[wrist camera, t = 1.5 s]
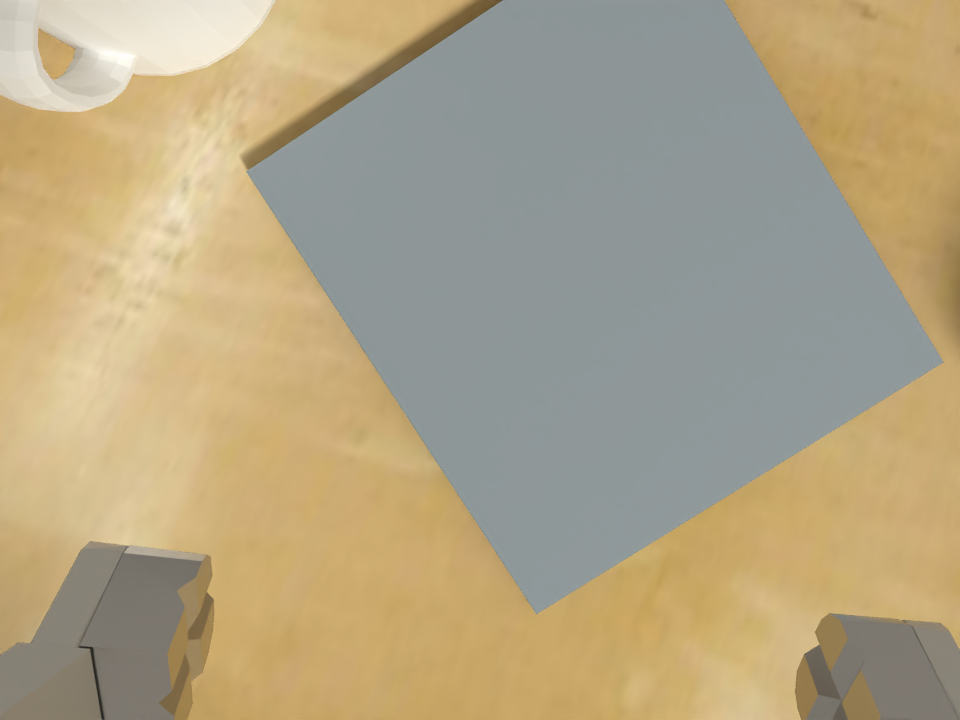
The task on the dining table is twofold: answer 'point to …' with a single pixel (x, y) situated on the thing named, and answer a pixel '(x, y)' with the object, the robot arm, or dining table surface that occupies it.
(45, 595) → the dining table surface
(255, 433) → the dining table surface
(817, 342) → the slate mat
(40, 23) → the mug
